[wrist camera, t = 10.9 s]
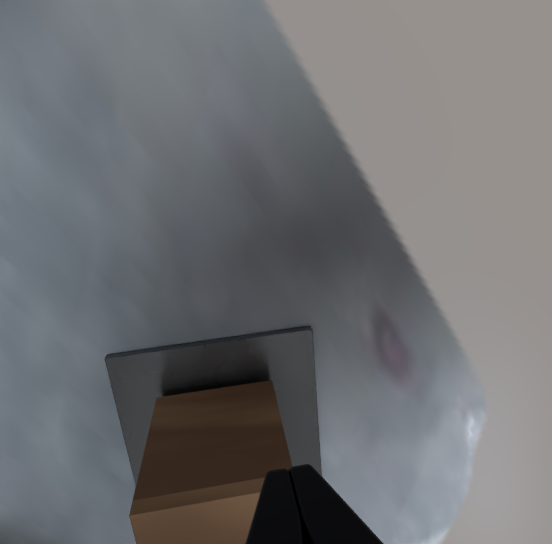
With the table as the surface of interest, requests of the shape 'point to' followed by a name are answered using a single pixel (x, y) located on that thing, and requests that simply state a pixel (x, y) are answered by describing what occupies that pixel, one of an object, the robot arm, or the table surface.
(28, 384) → the table surface
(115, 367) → the gray square base stand
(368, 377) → the table surface
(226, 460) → the cardboard carton
